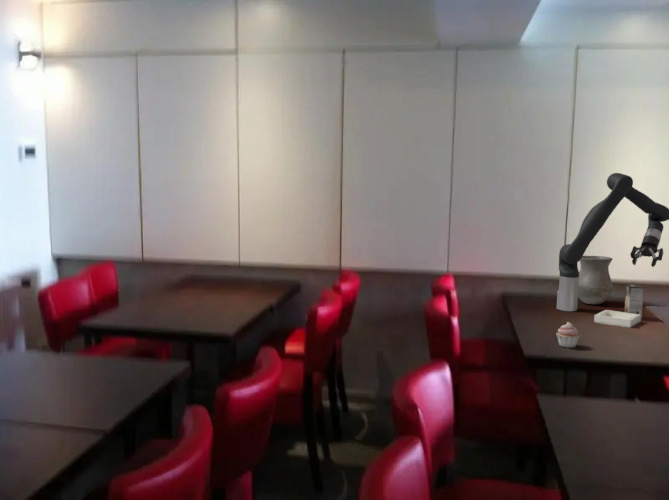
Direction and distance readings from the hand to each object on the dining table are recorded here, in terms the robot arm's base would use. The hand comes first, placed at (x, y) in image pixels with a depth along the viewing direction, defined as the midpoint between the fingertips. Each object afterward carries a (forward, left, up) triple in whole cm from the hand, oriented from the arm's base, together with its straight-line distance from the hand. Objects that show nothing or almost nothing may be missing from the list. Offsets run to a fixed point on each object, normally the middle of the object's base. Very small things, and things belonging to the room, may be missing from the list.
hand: (643, 264), depth 325 cm
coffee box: (0, -11, -25) cm, 27 cm away
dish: (-3, -25, -25) cm, 35 cm away
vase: (-27, +12, -25) cm, 39 cm away
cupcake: (-5, -83, -25) cm, 87 cm away
